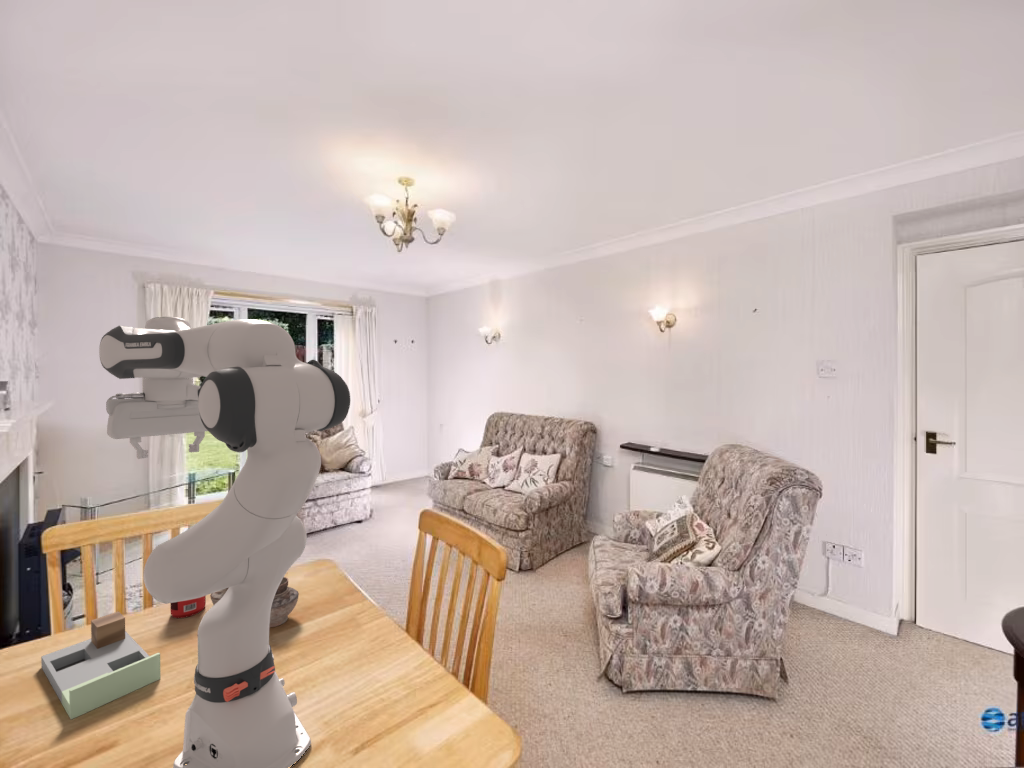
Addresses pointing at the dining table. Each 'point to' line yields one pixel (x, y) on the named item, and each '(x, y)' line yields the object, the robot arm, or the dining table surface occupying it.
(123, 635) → the walnut block
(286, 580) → the pottery
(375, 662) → the dining table surface
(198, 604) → the canned food
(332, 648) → the dining table surface
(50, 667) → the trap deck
